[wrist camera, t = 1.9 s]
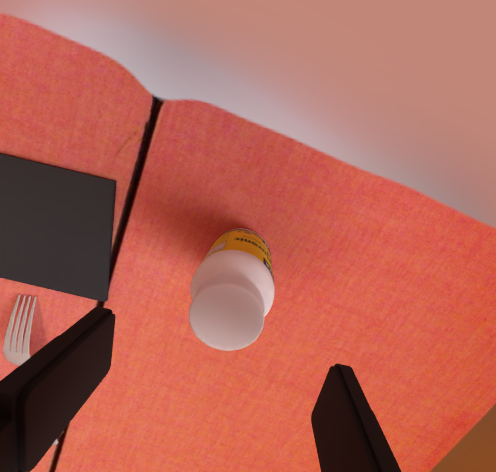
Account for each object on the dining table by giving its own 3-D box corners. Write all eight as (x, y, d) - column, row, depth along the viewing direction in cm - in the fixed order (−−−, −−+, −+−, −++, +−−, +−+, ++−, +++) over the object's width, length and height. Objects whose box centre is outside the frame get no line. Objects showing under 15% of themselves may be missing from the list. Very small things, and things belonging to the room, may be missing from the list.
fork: (55, 420, 32) (37, 444, 29) (14, 293, 24) (-16, 311, 21) (76, 423, 32) (59, 448, 29) (41, 296, 24) (14, 315, 21)
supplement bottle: (283, 258, 21) (300, 327, 12) (238, 292, 23) (222, 379, 13) (243, 214, 21) (229, 250, 11) (199, 251, 22) (152, 314, 12)
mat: (-20, 148, 20) (-26, 147, 20) (116, 180, 20) (113, 181, 20) (-10, 272, 24) (-14, 274, 23) (107, 300, 24) (105, 302, 23)
